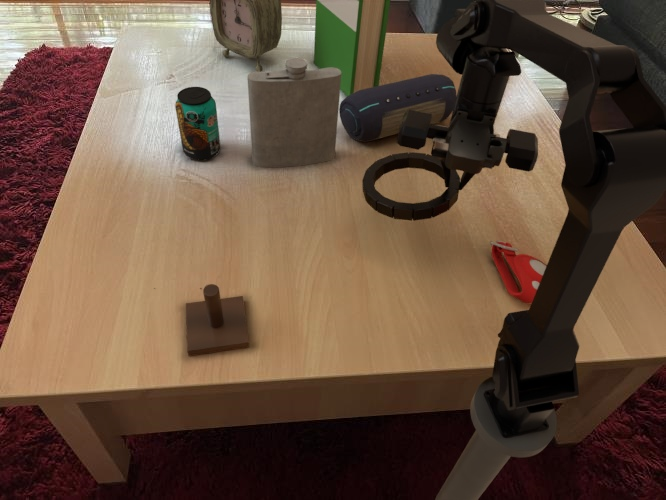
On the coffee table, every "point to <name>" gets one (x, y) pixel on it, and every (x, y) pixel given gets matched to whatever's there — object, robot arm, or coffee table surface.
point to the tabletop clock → (247, 26)
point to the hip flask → (293, 114)
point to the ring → (409, 209)
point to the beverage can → (198, 123)
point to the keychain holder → (518, 270)
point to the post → (216, 323)
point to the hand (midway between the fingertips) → (453, 187)
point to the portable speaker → (396, 105)
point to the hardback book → (351, 40)
